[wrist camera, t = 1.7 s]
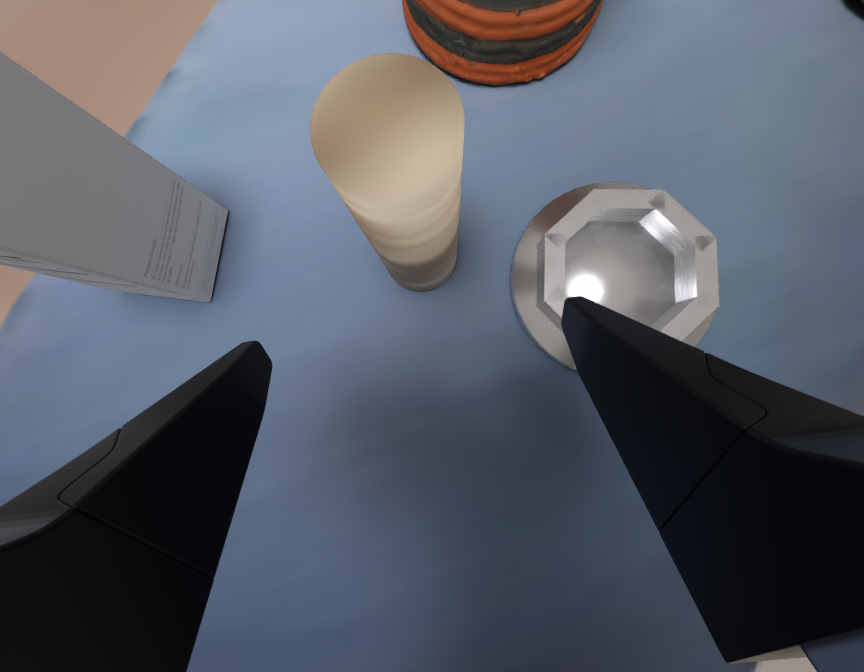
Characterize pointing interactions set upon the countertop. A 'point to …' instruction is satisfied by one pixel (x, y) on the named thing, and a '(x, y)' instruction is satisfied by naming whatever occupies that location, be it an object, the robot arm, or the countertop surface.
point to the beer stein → (500, 35)
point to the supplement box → (96, 201)
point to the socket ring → (615, 264)
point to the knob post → (396, 161)
